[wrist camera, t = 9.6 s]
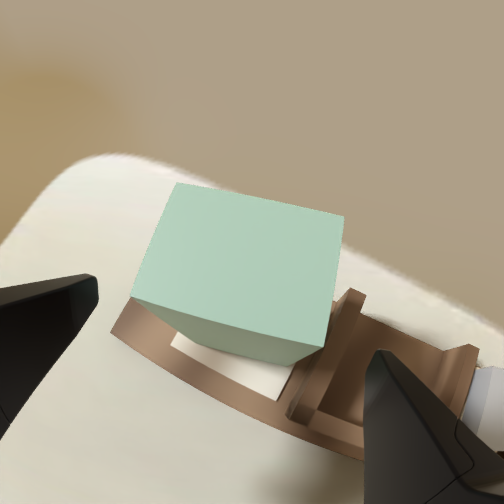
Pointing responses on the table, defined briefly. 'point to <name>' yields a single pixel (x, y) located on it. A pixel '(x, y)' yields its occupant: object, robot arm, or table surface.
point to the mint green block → (242, 273)
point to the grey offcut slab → (486, 407)
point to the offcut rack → (304, 373)
